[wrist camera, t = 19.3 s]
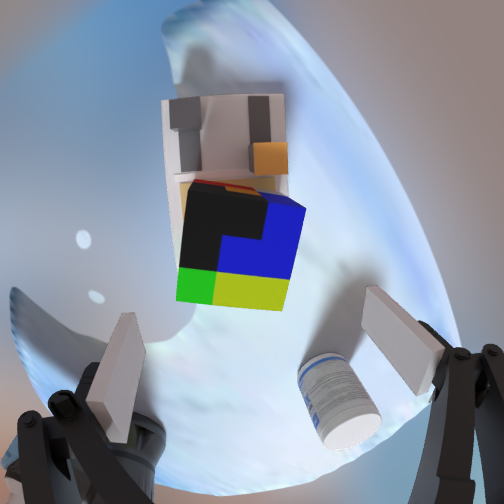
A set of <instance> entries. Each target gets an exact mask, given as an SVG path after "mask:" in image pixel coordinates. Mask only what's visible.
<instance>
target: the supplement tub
mask: <svg viewBox="0 0 504 504" xmlns="http://www.w3.org/2000/svg"><path fill="white" fill-rule="evenodd" d="M297 383H298V386H299V389H300V391H301V394H302V396H303V399H304V401H305V404H306V406H307V409H308V411H309V414H310V417H311V419H312V421H313V424H314V426H315V429H316V431H317V434H318V436H319V438H320V440H321V442H322V443H323V445H324V447H325V448H326V449H328V450H332V451H339V450H344V449H348V448H351V447H354V446H356V445H358V444H360V443H362V442H363V441H365V440H366V439H368V438H369V437H370V436H372V435H373V434H374V433H375V432H376V431H377V429H378V428H379V426H380V424H381V421H382V418H381V416H380V414H379V411H378V409H377V407H376V406H375V404H374V402H373V401H372V399H371V397H370V396H369V394H368V393H367V391H366V390H365V388H364V386H363V385H362V383H361V382H360V380H359V378H358V377H357V375H356V374H355V372H354V371H353V369H352V367H351V366H350V364H349V363H348V361H347V360H346V358H344V357H343V356H342V355H339V354H336V353H325V354H321V355H318V356H316V357H314V358H312V359H311V360H309V361H308V362H307V363H306V364H305V365H304V366H303V367H302V368H301V370H300V371H299V374H298V377H297Z"/></svg>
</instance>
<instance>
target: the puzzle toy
mask: <svg viewBox="0 0 504 504" xmlns="http://www.w3.org/2000/svg"><path fill="white" fill-rule="evenodd" d="M305 212H306V208H305V207H303V206H302V205H300V204H298V203H297V202H295V201H294V200H292V199H290V198H289V197H287V196H285V195H284V194H282V193H281V192H277V191H271V190H265V189H259V188H253V187H247V186H240V185H234V184H227V183H221V182H214V181H206V180H199V179H194V180H193V182H192V184H191V185H190V187H189V189H188V192H187V200H186V207H185V215H184V223H183V231H182V240H181V250H180V259H179V270H178V282H177V293H176V294H177V295H176V301H181V302H189V303H198V304H207V305H217V306H227V307H237V308H248V309H260V310H272V311H282V309H283V305H284V301H285V298H286V294H287V290H288V285H289V281H290V277H291V273H292V269H293V265H294V261H295V256H296V252H297V248H298V243H299V239H300V235H301V230H302V226H303V221H304V217H305Z"/></svg>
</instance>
